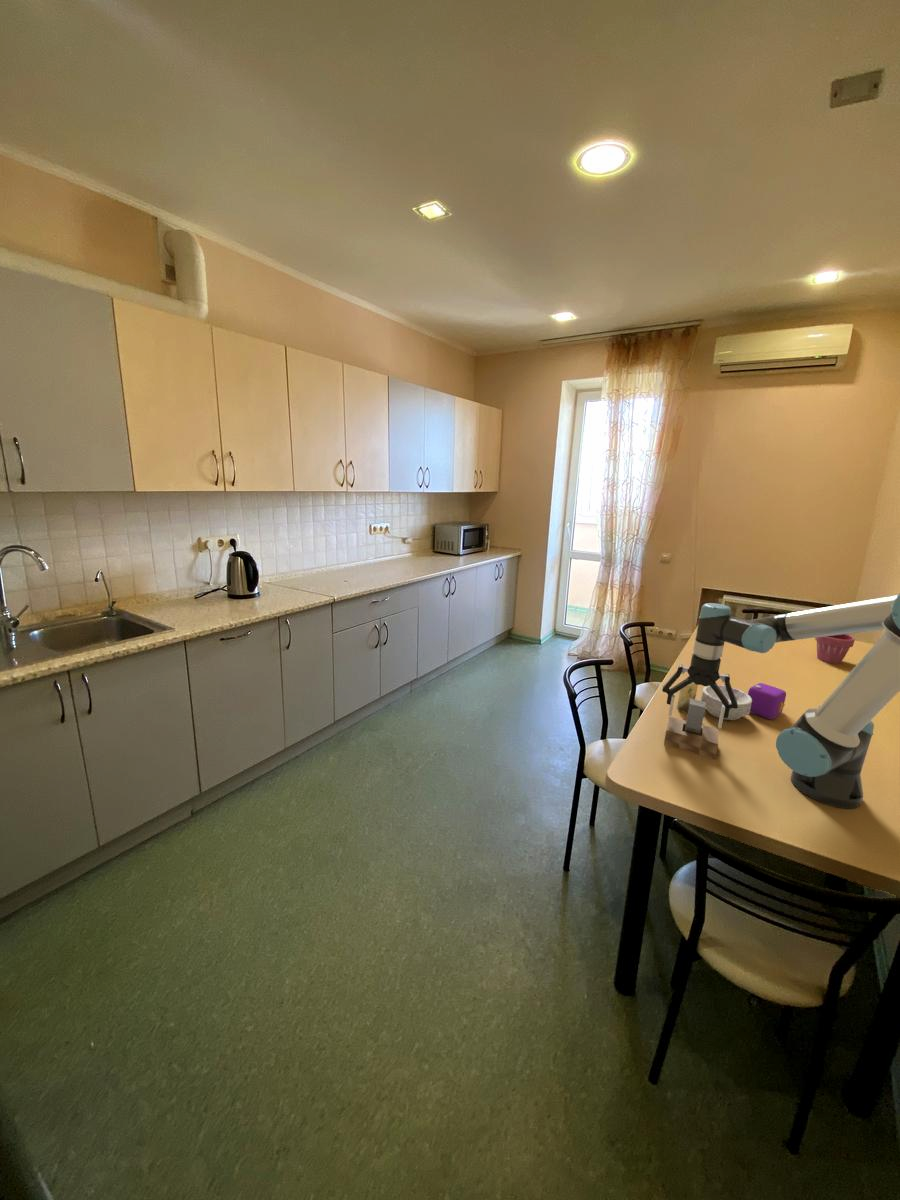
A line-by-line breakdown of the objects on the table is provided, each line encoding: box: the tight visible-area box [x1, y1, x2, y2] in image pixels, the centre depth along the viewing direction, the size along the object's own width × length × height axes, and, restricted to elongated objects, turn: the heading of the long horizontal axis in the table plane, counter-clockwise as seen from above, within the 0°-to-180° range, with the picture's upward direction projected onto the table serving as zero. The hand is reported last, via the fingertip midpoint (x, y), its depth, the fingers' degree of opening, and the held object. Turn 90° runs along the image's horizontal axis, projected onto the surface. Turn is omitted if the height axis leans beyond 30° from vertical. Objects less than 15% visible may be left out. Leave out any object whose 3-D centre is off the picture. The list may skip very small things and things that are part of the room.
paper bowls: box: [700, 684, 752, 721], centre depth 165 cm, size 15×15×8 cm
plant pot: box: [814, 634, 856, 664], centre depth 222 cm, size 14×14×13 cm
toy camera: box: [747, 682, 787, 720], centre depth 168 cm, size 11×14×10 cm
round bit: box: [676, 682, 699, 714], centre depth 167 cm, size 5×5×10 cm
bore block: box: [663, 716, 720, 760], centre depth 145 cm, size 14×10×5 cm
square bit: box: [684, 699, 706, 735], centre depth 144 cm, size 4×4×14 cm
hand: (694, 720), depth 144 cm, fingers open, 13 cm apart
